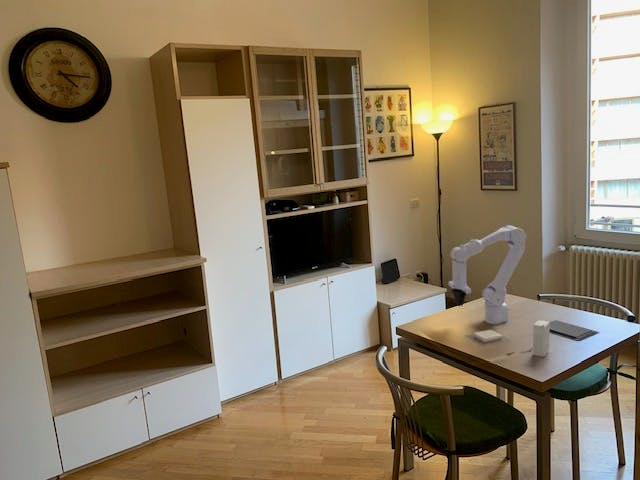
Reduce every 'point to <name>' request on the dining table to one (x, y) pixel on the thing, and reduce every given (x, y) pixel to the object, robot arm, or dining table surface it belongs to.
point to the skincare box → (541, 338)
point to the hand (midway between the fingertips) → (459, 305)
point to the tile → (487, 336)
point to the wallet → (570, 331)
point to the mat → (487, 342)
